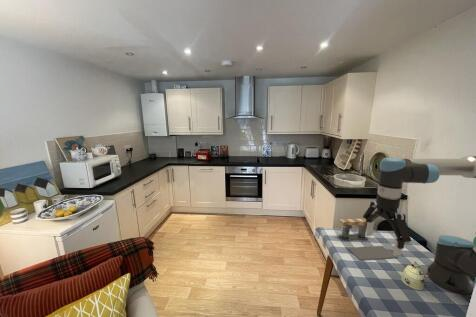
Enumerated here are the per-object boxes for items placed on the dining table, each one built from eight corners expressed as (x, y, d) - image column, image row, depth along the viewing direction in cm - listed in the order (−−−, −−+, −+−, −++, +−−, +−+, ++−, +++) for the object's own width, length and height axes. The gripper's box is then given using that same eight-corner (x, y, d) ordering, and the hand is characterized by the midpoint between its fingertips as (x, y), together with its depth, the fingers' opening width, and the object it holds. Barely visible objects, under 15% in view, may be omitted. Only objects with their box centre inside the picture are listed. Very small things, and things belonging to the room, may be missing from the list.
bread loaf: (366, 223, 136) (366, 218, 135) (370, 226, 132) (371, 221, 131) (339, 224, 133) (339, 219, 133) (342, 227, 130) (343, 222, 129)
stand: (361, 234, 138) (363, 220, 136) (368, 239, 132) (370, 225, 130) (338, 235, 136) (340, 221, 135) (344, 241, 130) (346, 226, 128)
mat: (382, 246, 124) (382, 245, 124) (398, 258, 114) (398, 257, 114) (347, 248, 122) (347, 247, 122) (360, 260, 111) (360, 259, 111)
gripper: (357, 187, 90) (352, 229, 94) (411, 209, 66) (402, 265, 69) (371, 186, 91) (366, 228, 95) (430, 208, 67) (420, 264, 70)
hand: (381, 244), depth 82 cm, fingers open, 13 cm apart
